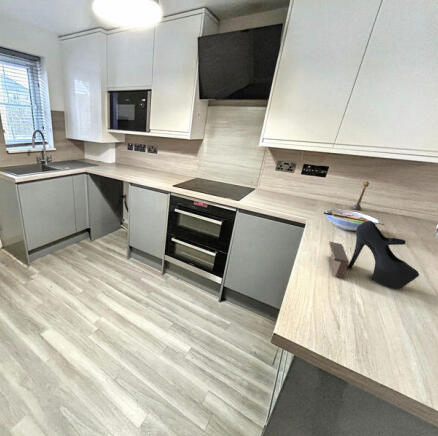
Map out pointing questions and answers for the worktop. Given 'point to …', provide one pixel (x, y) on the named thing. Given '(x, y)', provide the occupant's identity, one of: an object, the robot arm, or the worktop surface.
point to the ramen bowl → (348, 219)
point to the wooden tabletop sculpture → (357, 206)
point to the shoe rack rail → (338, 259)
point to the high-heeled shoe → (383, 257)
